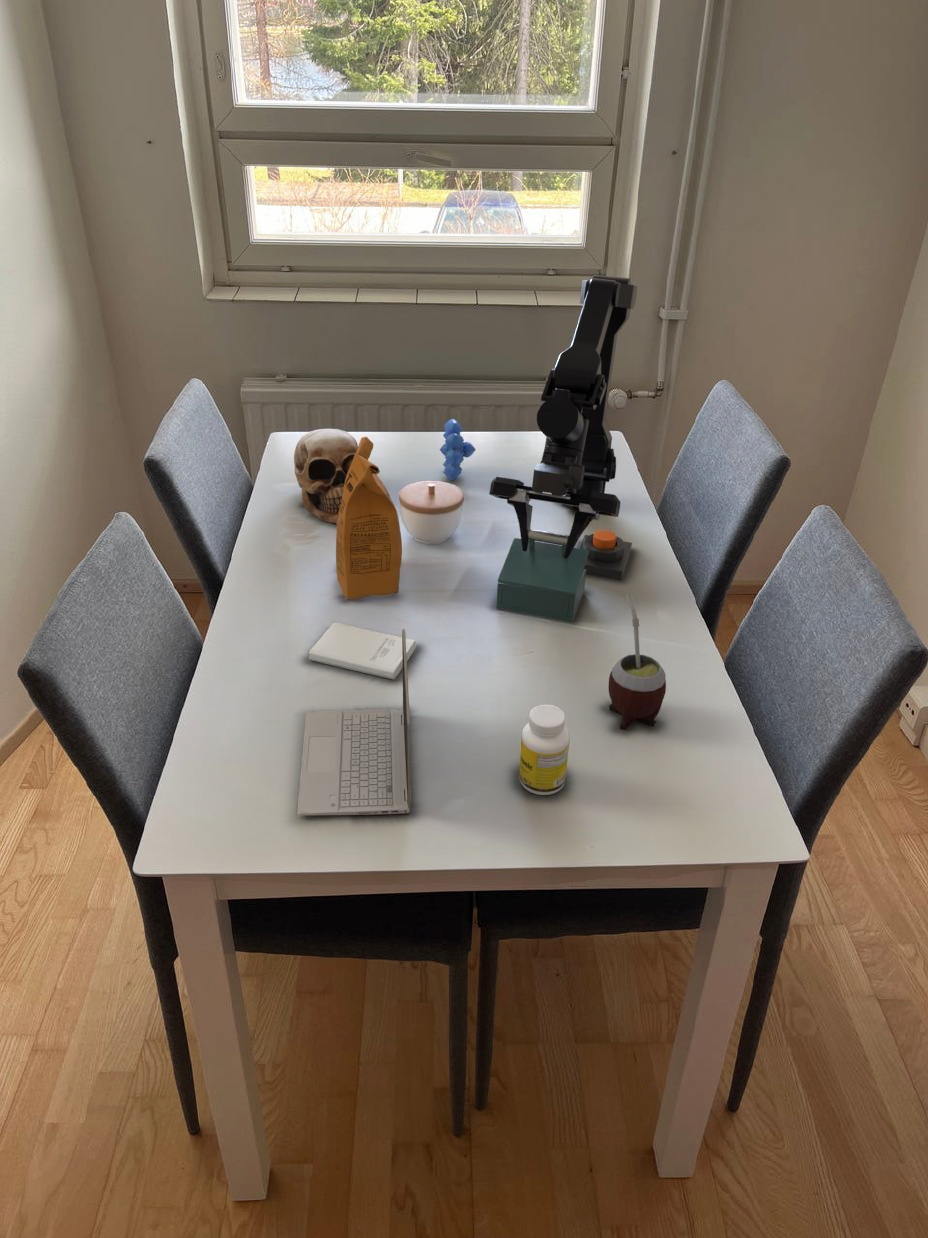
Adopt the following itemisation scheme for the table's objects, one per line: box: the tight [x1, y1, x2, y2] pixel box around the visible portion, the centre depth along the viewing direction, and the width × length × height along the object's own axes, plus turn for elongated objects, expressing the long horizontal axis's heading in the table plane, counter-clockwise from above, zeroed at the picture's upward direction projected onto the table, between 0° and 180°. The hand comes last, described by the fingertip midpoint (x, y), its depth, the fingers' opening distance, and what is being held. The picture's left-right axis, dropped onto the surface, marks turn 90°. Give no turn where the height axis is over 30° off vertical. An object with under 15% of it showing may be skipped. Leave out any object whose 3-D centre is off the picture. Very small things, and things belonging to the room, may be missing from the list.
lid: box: [497, 528, 589, 596], centre depth 138 cm, size 9×12×4 cm
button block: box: [578, 533, 633, 581], centre depth 152 cm, size 10×8×4 cm
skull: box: [293, 428, 359, 525], centre depth 167 cm, size 16×17×13 cm
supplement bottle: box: [518, 704, 570, 796], centre depth 107 cm, size 5×5×10 cm
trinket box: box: [398, 480, 465, 545], centre depth 157 cm, size 11×11×9 cm
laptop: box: [296, 628, 412, 816], centre depth 108 cm, size 18×12×13 cm
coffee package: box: [335, 436, 403, 600], centre depth 140 cm, size 10×12×22 cm
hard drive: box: [308, 622, 417, 680], centre depth 129 cm, size 2×8×12 cm
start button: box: [593, 529, 617, 549], centre depth 151 cm, size 4×4×2 cm
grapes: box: [439, 418, 477, 481], centre depth 175 cm, size 12×7×12 cm, turn 3°
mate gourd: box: [608, 593, 667, 731], centre depth 116 cm, size 8×8×15 cm
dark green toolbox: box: [496, 569, 587, 623], centre depth 142 cm, size 9×12×4 cm
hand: (544, 554), depth 139 cm, fingers closed on lid, 6 cm apart
